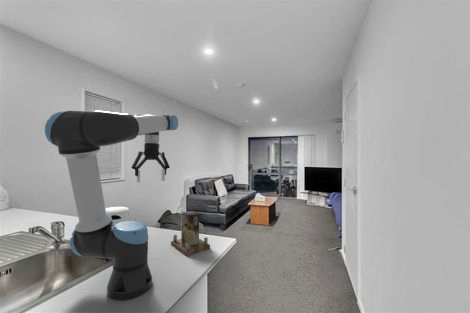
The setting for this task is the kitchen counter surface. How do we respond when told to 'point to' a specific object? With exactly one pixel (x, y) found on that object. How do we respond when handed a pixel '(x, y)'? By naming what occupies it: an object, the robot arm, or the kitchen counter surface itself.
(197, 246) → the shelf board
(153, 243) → the kitchen counter surface
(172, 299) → the kitchen counter surface
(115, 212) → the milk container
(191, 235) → the coffee box
